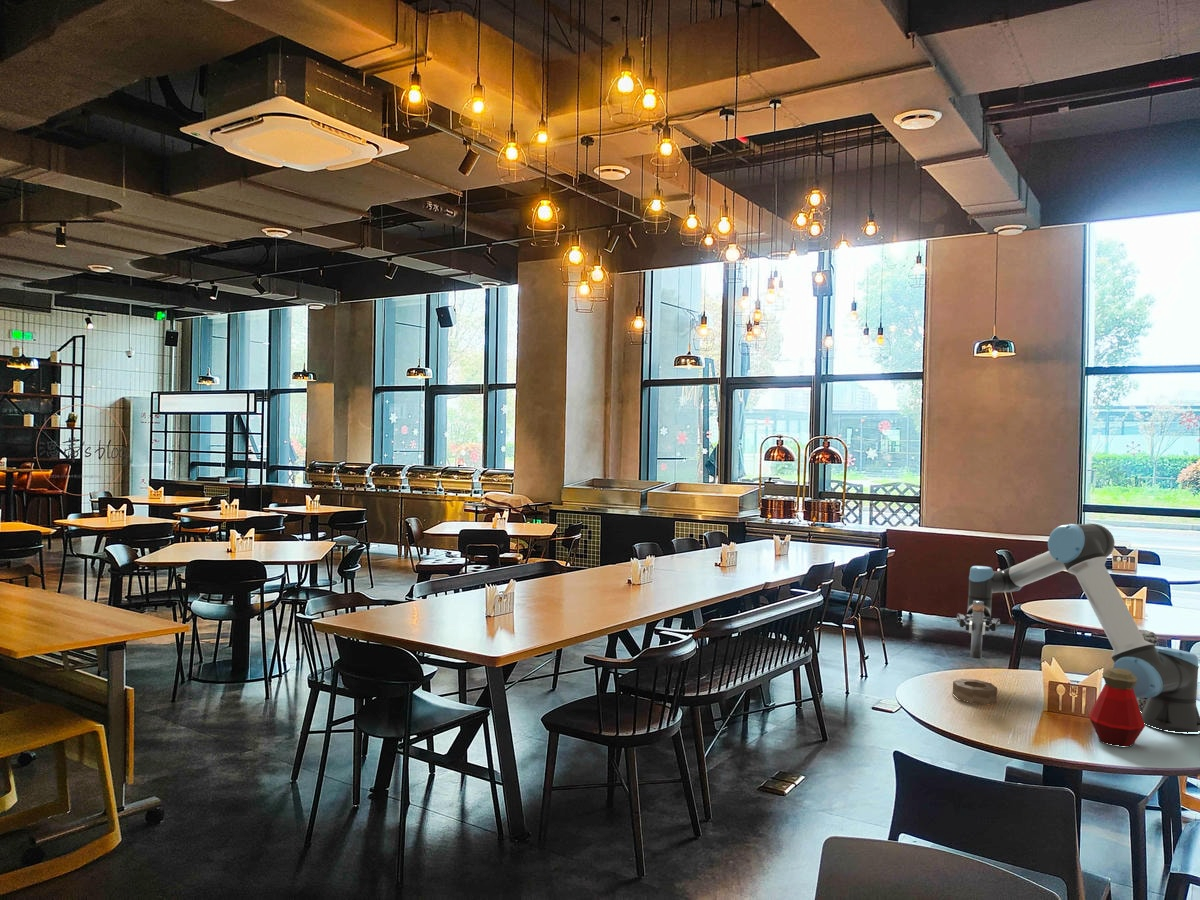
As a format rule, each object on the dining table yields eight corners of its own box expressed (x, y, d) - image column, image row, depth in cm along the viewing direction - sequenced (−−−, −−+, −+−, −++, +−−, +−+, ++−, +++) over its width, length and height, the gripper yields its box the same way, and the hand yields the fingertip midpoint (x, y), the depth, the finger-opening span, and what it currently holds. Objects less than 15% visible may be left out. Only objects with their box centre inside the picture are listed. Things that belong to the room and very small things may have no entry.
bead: (1000, 705, 263) (1001, 691, 263) (961, 702, 265) (961, 688, 264) (986, 693, 275) (987, 680, 275) (949, 691, 277) (949, 677, 276)
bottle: (1092, 728, 245) (1096, 660, 245) (1147, 740, 236) (1151, 669, 236) (1082, 742, 233) (1086, 670, 232) (1140, 755, 224) (1143, 681, 224)
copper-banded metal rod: (983, 658, 268) (985, 602, 268) (972, 658, 268) (975, 602, 268) (979, 656, 271) (982, 600, 271) (968, 655, 272) (971, 600, 271)
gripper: (1004, 630, 282) (1004, 645, 261) (952, 623, 289) (948, 637, 268) (1005, 608, 282) (1006, 621, 261) (953, 602, 289) (949, 614, 268)
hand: (977, 629), depth 265 cm, fingers closed on copper-banded metal rod, 3 cm apart
